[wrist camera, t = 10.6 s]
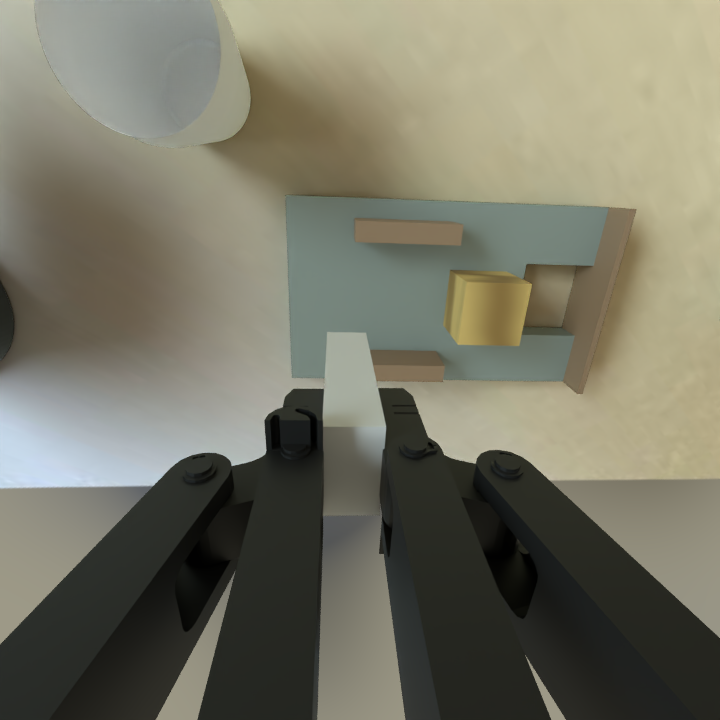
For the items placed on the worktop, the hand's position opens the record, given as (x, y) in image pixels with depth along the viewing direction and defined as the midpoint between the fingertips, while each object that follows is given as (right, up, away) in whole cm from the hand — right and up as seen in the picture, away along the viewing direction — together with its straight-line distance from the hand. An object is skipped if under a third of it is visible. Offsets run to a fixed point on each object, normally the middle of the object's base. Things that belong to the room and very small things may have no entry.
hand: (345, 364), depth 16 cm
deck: (+8, +7, +22) cm, 24 cm away
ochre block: (+11, +6, +20) cm, 23 cm away
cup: (-11, +21, +15) cm, 28 cm away
